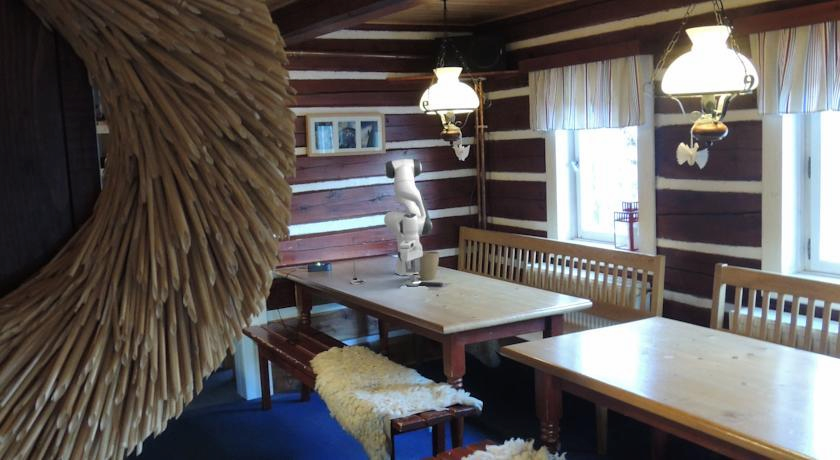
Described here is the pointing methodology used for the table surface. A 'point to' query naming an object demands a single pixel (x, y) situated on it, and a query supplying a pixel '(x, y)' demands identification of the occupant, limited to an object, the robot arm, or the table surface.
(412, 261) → the hollow square tube
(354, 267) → the tow hook
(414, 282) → the ratchet
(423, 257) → the plant pot
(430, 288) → the mat
